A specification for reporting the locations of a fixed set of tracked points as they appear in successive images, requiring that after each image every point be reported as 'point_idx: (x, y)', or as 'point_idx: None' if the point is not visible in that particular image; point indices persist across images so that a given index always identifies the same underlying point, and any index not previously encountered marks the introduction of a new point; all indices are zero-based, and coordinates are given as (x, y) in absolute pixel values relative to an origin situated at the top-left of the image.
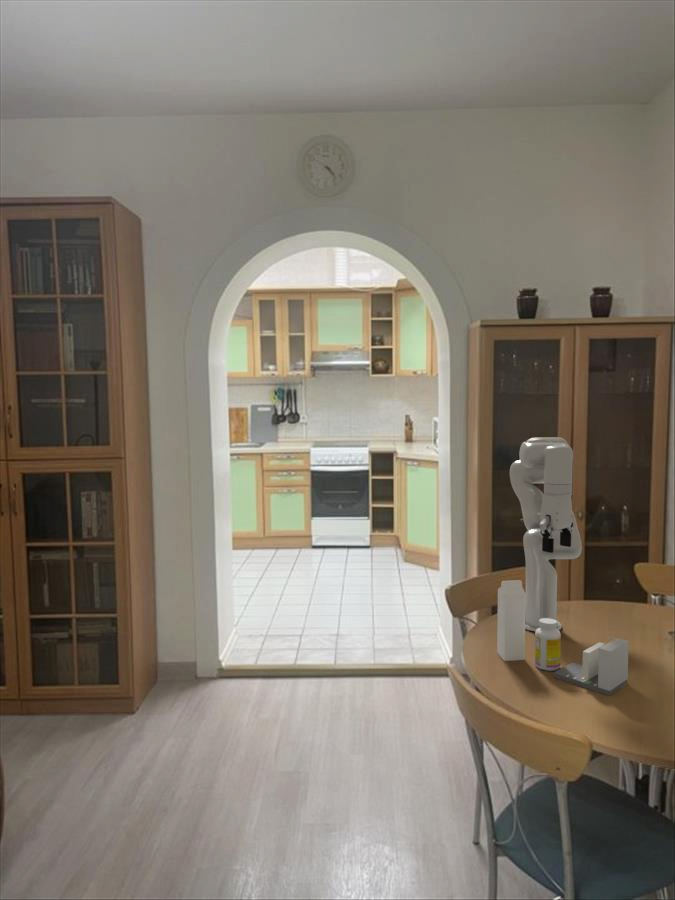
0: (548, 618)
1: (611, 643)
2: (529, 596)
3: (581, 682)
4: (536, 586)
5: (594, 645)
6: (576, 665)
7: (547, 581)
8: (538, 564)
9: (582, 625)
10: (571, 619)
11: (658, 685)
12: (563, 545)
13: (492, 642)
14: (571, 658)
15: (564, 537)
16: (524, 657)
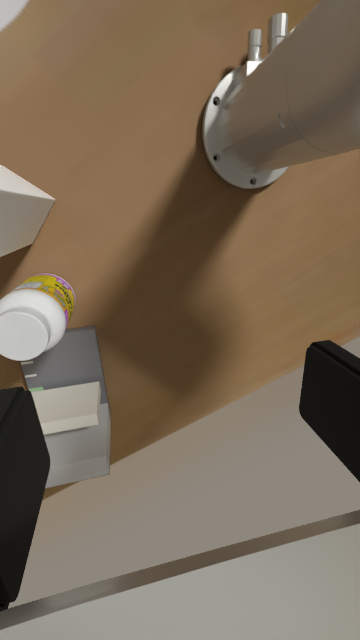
0: (39, 324)
1: (64, 469)
2: (255, 82)
3: (28, 389)
4: (275, 102)
5: (69, 419)
6: (86, 342)
7: (307, 138)
8: (343, 70)
9: (317, 205)
10: (341, 162)
11: (143, 437)
12: (303, 373)
13: (50, 103)
14: (129, 300)
15: (354, 426)
16: (30, 244)
